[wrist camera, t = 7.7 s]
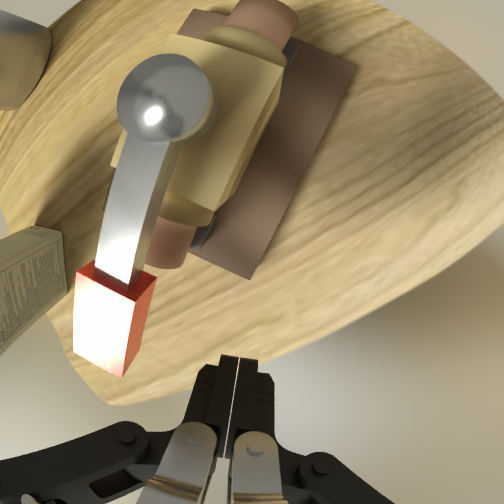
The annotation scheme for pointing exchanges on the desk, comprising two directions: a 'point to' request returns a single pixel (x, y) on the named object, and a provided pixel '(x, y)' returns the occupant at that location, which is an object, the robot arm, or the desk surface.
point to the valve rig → (244, 135)
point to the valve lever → (138, 205)
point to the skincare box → (29, 279)
